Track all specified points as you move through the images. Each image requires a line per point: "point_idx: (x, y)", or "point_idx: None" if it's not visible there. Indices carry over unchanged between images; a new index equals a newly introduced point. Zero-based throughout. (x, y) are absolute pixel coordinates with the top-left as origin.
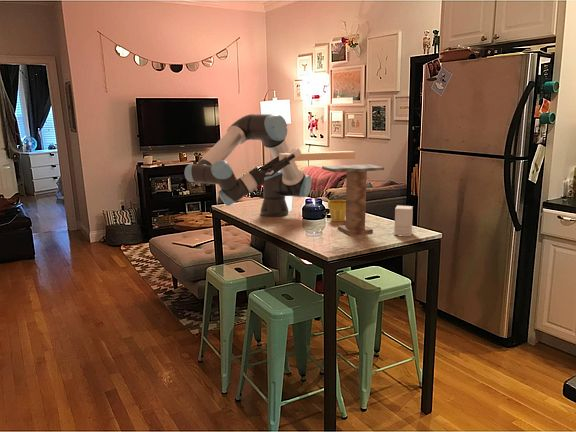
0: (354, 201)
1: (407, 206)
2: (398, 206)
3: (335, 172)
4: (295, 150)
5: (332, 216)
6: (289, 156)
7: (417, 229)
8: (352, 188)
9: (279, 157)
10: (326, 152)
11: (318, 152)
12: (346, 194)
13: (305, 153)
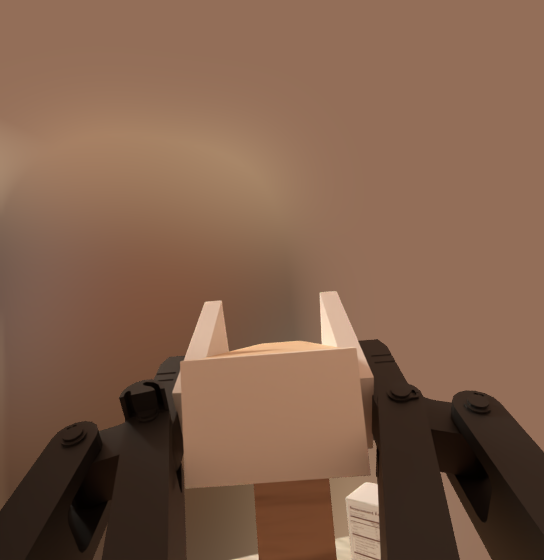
0: (335, 553)
1: (369, 487)
2: (364, 498)
3: (373, 438)
4: (338, 307)
5: None
6: (372, 371)
7: (339, 544)
8: (314, 497)
9: (203, 428)
10: (285, 343)
11: (268, 345)
12: (261, 540)
13: (308, 344)
